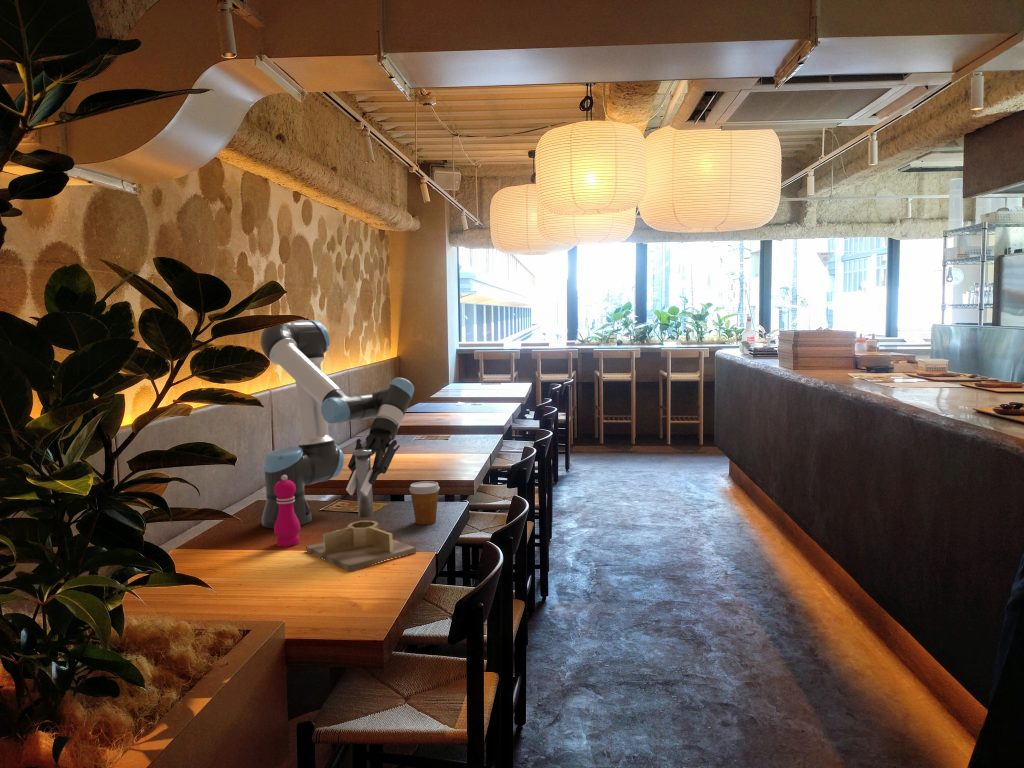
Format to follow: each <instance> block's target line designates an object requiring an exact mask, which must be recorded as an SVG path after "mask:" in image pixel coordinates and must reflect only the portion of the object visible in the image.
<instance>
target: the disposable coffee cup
mask: <svg viewBox="0 0 1024 768" xmlns="http://www.w3.org/2000/svg"><path fill="white" fill-rule="evenodd" d="M440 488H441V487H440V486H439V483H438V481H437V482H436V481H417V482H413V483H411V484H410V486H409V493H410V496H411V502H412V508H413V513H414V514H413V515H414V519H415V524H417V525H421V524H423V525H424V524H427V525H432V524H435V523H436V522H437V514H438V512H437V511H438V500H439V491H440ZM423 525H422V526H423Z"/></svg>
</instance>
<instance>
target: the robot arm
mask: <svg viewBox="0 0 1024 768" xmlns="http://www.w3.org/2000/svg"><path fill="white" fill-rule="evenodd" d="M298 320H299V321H293V322H289V323H285V324H281V325H277V326H273V327H270V328H266V329H265V328H263V330H262V333H261V334H260V348H261V350H262V353H264V355H265V357H266V356H267V357H268V358H269V359H270V360H269V359H268V358H267V357H266V358H267V359H268V360H269V361H270V362H271V363H272V364H274V365H277V366H280V367H281V368H282V369H283V370H284V371H285V372H286V373H288V375H289V376H290V377H291V378H292V379H293V380H294V382H295V389H296V390H295V391H296V395H297V397H296V398H297V403H298V404H297V405H298V413H299V422H300V430H301V437H302V438H301V440H300V441H299V442H298V444H297V445H298V446H287V447H280V448H278V449H274V450H272V451H270V452H268V453H267V454H266V455H265V457H264V463H263V464H264V465H263V466H264V467H263V469H264V478H265V479H264V481H265V495H266V499H265V501H266V502H265V505H264V508H263V512H262V516H261V526H262V527H263V528H267V529H274V526H275V522H276V520H277V517H278V513H279V506H278V503H277V500H276V498H277V496H276V495H275V493H274V487H275V485H276V483H278V482H279V481H282V479H281V477H282V475H287V477H288V479H287V480H290V481H292V482H293V483H294V484H295V486H296V492H295V493H294V495H293V496H294V497H295V498H294V500H295V501H294V502H293V507H294V512H295V515H296V517H297V518H298V520H299V523H300V527H301V526H303V525H306V524H309V523H310V522H311V521H312V520H313V519H312V512H311V509H310V507H309V504H308V502H307V499H306V496H305V486H309V485H313V484H317V483H321V482H329V480H332V479H335V478H337V477H338V476H339V475H340V473H341V472H342V470H343V468H344V464H345V456H344V453H343V450H341V447H340V446H339V445H338V444H335V438H333V437H332V436H330V434H329V433H330V432H329V424H343V423H346V422H347V423H348V422H354V421H359V420H360V421H361V420H371V419H374V420H373V422H372V424H371V426H370V428H369V434H368V435H367V436H366V437H365V439H362V440H361V439H360V438H358V439H357V440H356V442H355V443H356V446H355V448H354V450H357V449H372V455H370V458H371V456H374V459H373V464H372V467H371V470H369V472H368V474H367V476H366V478H365V481H364V483H363V485H362V488H361V490H360V491H361V492H362V493H363V495H364V496H367V495H368V493H369V490H370V488H371V486H372V487H373V485H374V484H375V483H376V481H377V479H378V477H379V475H381V474H383V475H385V474H387V472H388V469H389V467H390V465H391V463H392V460H393V458H394V456H395V454H396V452H397V451H398V450H399V448H400V446H401V445H400V444H399V442H398V441H397V440H395V438H396V436H397V433H398V431H399V428H400V426H401V423H402V421H403V419H404V417H405V415H406V412H407V410H408V408H409V406H410V404H411V401H412V399H413V395H414V392H415V386H414V384H413V383H412V382H411V381H410V380H408V379H407V378H404V377H395V378H393V379H392V380H391V381H390V383H389V385H388V387H387V388H384V389H381V390H378V391H377V390H376V391H374V392H368V393H367V392H366V393H362V394H352V395H349V394H347V393H346V392H345V391H344V390H342V389H341V388H340V387H339V385H338V384H336V383H335V382H334V381H333V380H332V379H331V378H330V377H328V375H326V373H325V372H324V371H322V366H321V364H322V362H323V361H324V360H325V353H326V352H328V350H329V347H330V346H331V345H330V344H331V343H330V342H331V341H330V340H331V337H330V335H329V331H328V329H327V327H326V326H325V325H324V324H323V323H322V322H320V321H319V320H315V319H308V320H306V319H305V320H304V319H298ZM347 468H348V469H349V470H350V472H351V473H350V474H349V477H348V481H349V482H348V484H347V485H346V486H347V487H346V489H345V490H346V492H347V493H348V494H349V496H353V495H354V493H355V491H356V490H357V479H356V461H355V456H353V454H352V455H351V457H350V460H349V462H348V465H347Z"/></svg>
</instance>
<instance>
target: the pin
mask: <svg viewBox="0 0 1024 768" xmlns="http://www.w3.org/2000/svg"><path fill="white" fill-rule="evenodd" d="M352 455H353V456H355V461H356V479H357V486H356V495H357V509H358V510H357V511H358V513H357V514H358V517H359V518H369V517H373V516H374V505H373V504H374V503H373V485H372V486H371V488H370V490H369V493H368V495H367V496H364V495H363V493H362V492H361V491H360V490H361V488H362V485H363V483H364V481H365V478H366V476H367V474H368V472H369V470H371V471H372V469H371V468H372V467H371V465H372V464H371V457H370V455H372V449H357V450H355V449H353V450H352ZM372 456H373V455H372Z"/></svg>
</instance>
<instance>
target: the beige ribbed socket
mask: <svg viewBox="0 0 1024 768" xmlns="http://www.w3.org/2000/svg"><path fill="white" fill-rule="evenodd" d="M393 540H394V538H393V533H391V532H388V531H385V530H382V529H380V524H379V522H377V521H374V520H358V521H354V522H350V523H349V524H348V525H347V526H346V527H345V528H341V529H336V530H332V531H329V532H325V533H322V542H323V548H324V552H325V553H326V552H330V551H334V550H338V549H342V548H346V547H349V546H354V547H365V546H373V547H375V548H378V549H380V550H383V551H385V552H388V553H393Z"/></svg>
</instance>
